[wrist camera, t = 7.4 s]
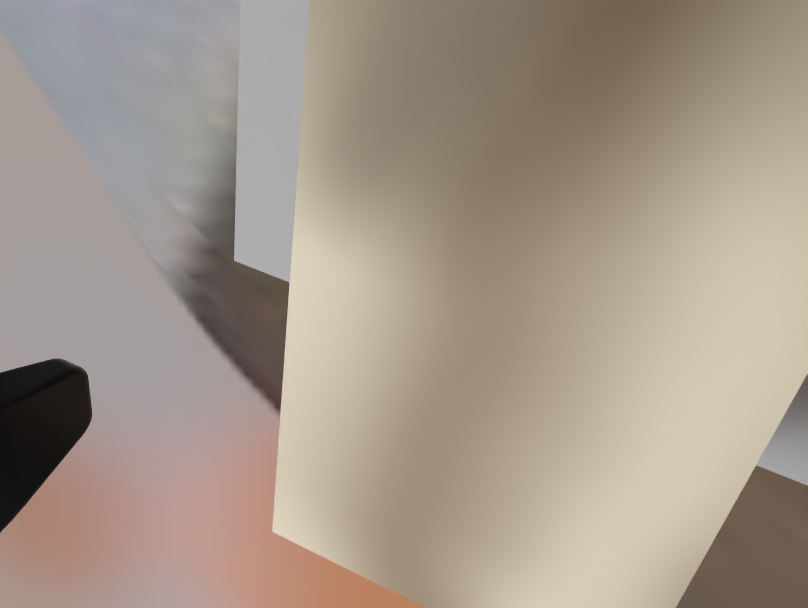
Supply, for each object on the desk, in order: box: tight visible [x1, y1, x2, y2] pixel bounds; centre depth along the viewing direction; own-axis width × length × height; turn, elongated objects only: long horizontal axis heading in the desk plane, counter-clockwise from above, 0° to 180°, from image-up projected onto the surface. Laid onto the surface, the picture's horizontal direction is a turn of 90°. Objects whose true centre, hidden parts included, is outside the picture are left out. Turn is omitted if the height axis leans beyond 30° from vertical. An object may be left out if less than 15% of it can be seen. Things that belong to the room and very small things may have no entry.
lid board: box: [273, 0, 808, 608], centre depth 12 cm, size 7×12×2 cm, turn 171°
